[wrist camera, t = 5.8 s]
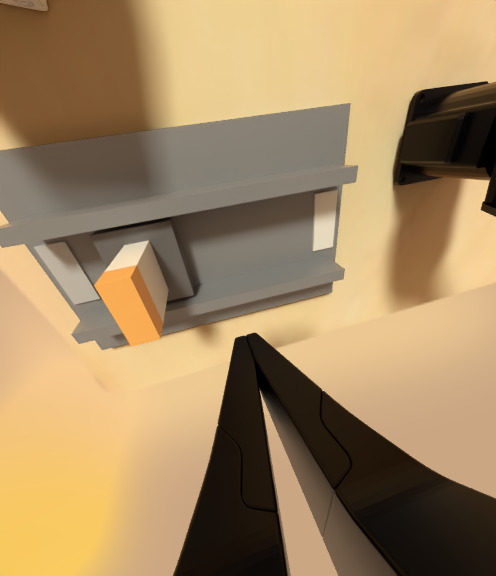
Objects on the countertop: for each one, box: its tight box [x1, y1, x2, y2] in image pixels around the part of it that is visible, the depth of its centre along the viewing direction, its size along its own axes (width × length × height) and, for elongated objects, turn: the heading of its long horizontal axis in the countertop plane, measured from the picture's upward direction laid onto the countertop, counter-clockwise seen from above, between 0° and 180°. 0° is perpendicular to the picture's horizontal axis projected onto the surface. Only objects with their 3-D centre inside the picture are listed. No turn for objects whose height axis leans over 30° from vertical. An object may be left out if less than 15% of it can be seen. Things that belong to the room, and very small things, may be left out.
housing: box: [0, 103, 358, 350], centre depth 17 cm, size 24×16×4 cm, turn 98°
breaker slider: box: [90, 216, 194, 346], centre depth 14 cm, size 5×6×7 cm
